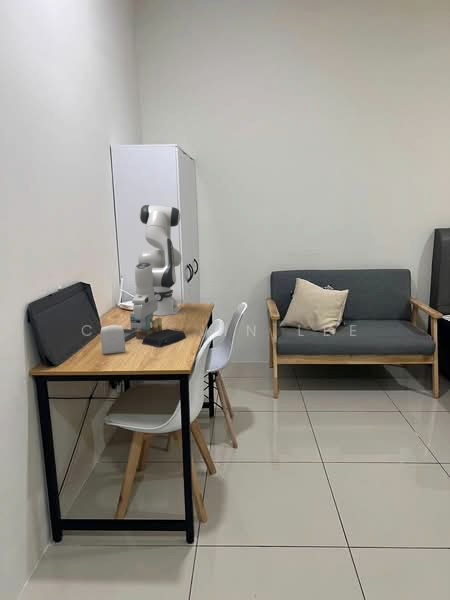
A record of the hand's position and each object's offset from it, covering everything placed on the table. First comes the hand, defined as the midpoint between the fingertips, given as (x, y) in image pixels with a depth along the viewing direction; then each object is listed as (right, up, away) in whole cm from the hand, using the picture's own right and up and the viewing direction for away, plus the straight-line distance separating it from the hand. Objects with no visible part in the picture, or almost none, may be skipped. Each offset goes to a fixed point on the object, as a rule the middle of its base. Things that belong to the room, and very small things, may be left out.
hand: (147, 323), depth 227 cm
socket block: (0, -7, +1) cm, 7 cm away
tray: (-12, -7, +1) cm, 14 cm away
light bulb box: (-5, -5, +12) cm, 14 cm away
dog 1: (+3, -6, +6) cm, 9 cm away
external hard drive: (+9, -9, -6) cm, 14 cm away
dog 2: (+4, -5, +11) cm, 13 cm away
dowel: (0, -7, +1) cm, 7 cm away
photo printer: (-11, -12, -23) cm, 28 cm away
